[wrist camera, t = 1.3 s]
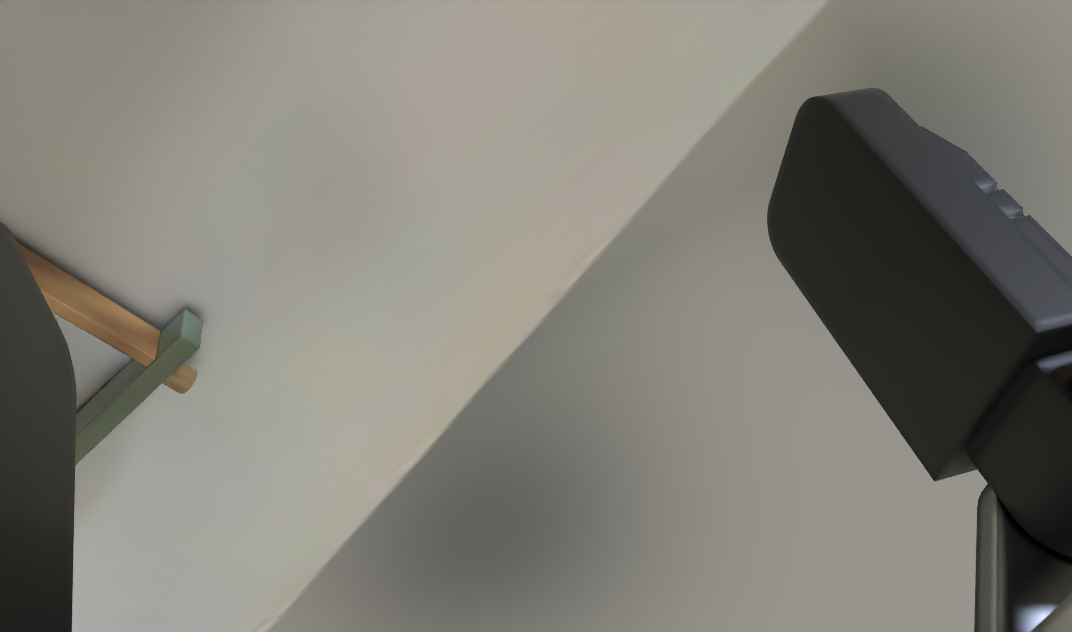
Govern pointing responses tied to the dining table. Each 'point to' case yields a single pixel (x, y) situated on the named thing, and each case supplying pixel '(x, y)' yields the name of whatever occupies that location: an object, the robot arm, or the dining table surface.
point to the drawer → (127, 333)
